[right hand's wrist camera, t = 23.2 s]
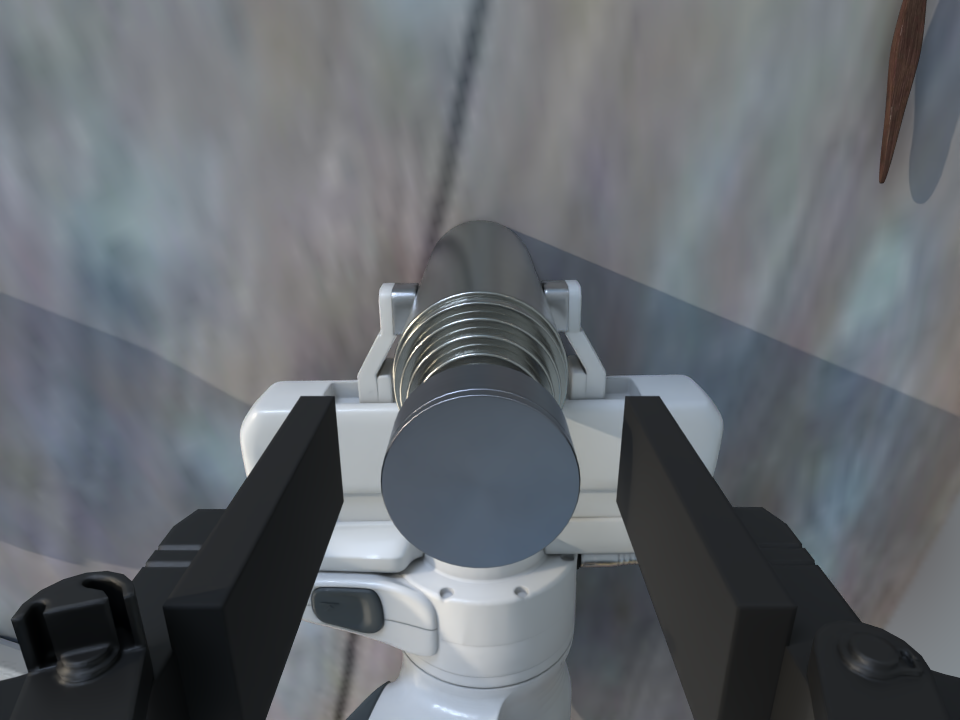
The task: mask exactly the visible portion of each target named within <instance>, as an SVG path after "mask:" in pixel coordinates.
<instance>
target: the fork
mask: <svg viewBox="0 0 960 720" xmlns="http://www.w3.org/2000/svg"><path fill="white" fill-rule="evenodd" d="M926 1H927V0H903V3H902V6H901V10H900V13H899V17H898V21H897V24H896V28H895V32H894V36H893V41H892V46H891V52H890V60H889V70H888V83H887V98H886V110H885V121H884V130H883V139H882V149H881V159H880V172H879V182H880V183H884V181H885V179H886V176H887V173H888V170H889V167H890V164H891V160H892V157H893V153H894V149H895V146H896V142H897V138H898V134H899V130H900V127H901V123H902V119H903V115H904V112H905V108H906V104H907V101H908V97H909V94H910V90H911V87H912V83H913V80H914V77H915V73H916V69H917V65H918V61H919V57H920V53H921V47H922V41H923V33H924V24H925V13H926Z"/></svg>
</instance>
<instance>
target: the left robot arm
mask: <svg viewBox="0 0 960 720" xmlns="http://www.w3.org/2000/svg"><path fill="white" fill-rule="evenodd" d="M541 287H542V289H543V292H544V295H545V297H546V300H547V303H548V305H549V308H550V311H551V313H552V316H553V319H554V321H555V324H556V327H557V329H558V332H564V333H565V335H566V337H567V338H568V340H569V342H570V343H571V345H572V347H573V349H574V350H575V352H576V354H577V355H569V356H568V357H567V360H568V369H569V376H568V386H567V394H566V399H565V403H564V406H563V409H562V412H563V414H564V416H565V419H566V422H567V425H568V428H569V432H570V435H571V439H572V442H573V446H574V449H575V453H576V456H577V460H578V464H579V468H580V478H581V482H580V493H579V498H578V503H577V505H576V508H575V511H574V513H573V515H572V517H571V519H570V521H569V523H568V524H567V526H566V527H565V528H564V530H563V531H562V532H561V534H560V535H559V536H558V537H557V538H556V539H555V540H554V541H553V542H552V543H550V544H549V545H548V546H547V547H545V548H544V549H543V550H541V551H539V552H538V553H536V554H535V555H533V556H531V557H529V558H527V559H525V560H522V561H519V562H516V563H513V564H510V565H506V566H501V567H494V568H467V567H460V566H456V565H451V564H448V563H445V562H442V561H439V560H437V559H435V558H433V557H430V556H428V555H427V554H425V553H423V552H422V551H420V550H418V549H417V548H416V547H415V546H413V545H412V544H411V543H410V542H408V541H407V540H406V539H405V537H404V536H403V535H402V534H401V533H400V532H399V531H398V529H397V528H396V527H395V525H394V524H393V522H392V520H391V518H390V517H389V515H388V513H387V510H386V507H385V505H384V502H383V497H382V493H381V469H382V465H383V461H384V457H385V453H386V450H387V446H388V443H389V439H390V436H391V432H392V429H393V425H394V422H395V419H396V417H397V414H398V412H399V409H398V406H397V403H396V400H395V394H394V386H393V376H392V368H393V359H386V360H385V358H386V356H387V354H388V352H389V350H390V348H391V346H392V344H393V342H394V341H395V339H396V337H397V335H398V334H402V332H403V329H404V326H405V323H406V321H407V318H408V315H409V313H410V310H411V307H412V305H413V302H414V299H415V297H416V294H417V291H418V289H419V284H418V283H383V285H382V286H381V288H380V291H379V311H380V324H381V330H380V332H379V334H378V336H377V338H376V340H375V342H374V344H373V345H372V347H371V349H370V351H369V353H368V355H367V357H366V359H365V361H364V363H363V365H362V367H361V369H360V371H359V373H358V375H357V378H358V380H325V381H280V382H276V383H274V384H272V385H271V386H270V387H269V388H268V389H267V390H266V391H265V392H264V393H263V394H262V396H261V397H260V398H259V399H258V400H257V401H256V402H255V403H254V405H253V406H252V408H251V409H250V410H249V412H248V413H247V415H246V417H245V419H244V420H243V423H242V426H241V430H240V443H241V451H242V456H243V462H244V466H245V471H246V476H247V477H248V475H249V474H250V472H251V471H252V469H253V468H254V466H255V465H256V463H257V462H258V460H259V459H260V457H261V455H262V454H263V452H264V451H265V449H266V448H267V446H268V445H269V443H270V442H271V440H272V439H273V437H274V436H275V434H276V433H277V431H278V430H279V428H280V427H281V425H282V424H283V422H284V421H285V419H286V417H287V416H288V414H289V413H290V411H291V410H292V408H293V407H294V405H295V404H296V402H297V401H298V399H299V398H300V396H335V404H336V416H337V427H338V439H339V450H340V462H341V473H342V485H343V496H344V503H343V505H342V508H341V511H340V514H339V517H338V519H337V522H336V525H335V528H334V531H333V533H332V536H331V539H330V542H329V544H328V547H327V550H326V553H325V556H324V558H323V561H322V564H321V567H320V569H319V572H318V575H317V578H316V581H315V583H314V586H313V589H312V592H311V594H310V597H309V600H308V603H307V606H306V608H305V611H304V614H303V617H302V619H301V620H304V621H307V622H310V623H314V624H318V625H323V626H327V627H331V628H335V629H339V630H343V631H347V632H351V633H354V634H358V635H361V636H365V637H368V638H371V639H374V640H377V641H380V642H383V643H386V644H388V645H391V646H393V647H396V648H398V649H400V650H402V652H403V664H402V668H401V671H400V674H399V677H398V679H397V680H396V681H394V682H392V683H391V682H390V681H388V682H386V683H384V684H383V685H382V686H380V687H379V688H378V689H376V690H375V691H374V692H373V693H372V694H371V695H370V696H369V697H367V698H366V699H365V700H364V701H363V703H362V704H361V705H360V706H359V707H358V708H357V709H356V710H355V711H354V712H353V713H352V714H351V715H350V716H349V717H348V718H347V719H346V720H570V715H571V698H572V686H571V678H570V674H569V670H568V666H567V664H566V661H565V660H566V658H567V656H568V654H569V651H570V648H571V645H572V642H573V636H574V628H575V606H576V583H577V569H579V567H615V566H622V565H628V564H629V565H633V564H635V565H637V564H638V561H637V558H636V556H635V553H634V550H633V547H632V544H631V542H630V539H629V536H628V533H627V531H626V528H625V525H624V522H623V519H622V517H621V514H620V511H619V508H618V505H617V503H616V496H617V485H618V473H619V462H620V450H621V439H622V427H623V416H624V404H625V396H660V398H661V399H662V401H663V402H664V404H665V405H666V407H667V408H668V410H669V411H670V413H671V414H672V416H673V417H674V419H675V421H676V422H677V424H678V425H679V427H680V428H681V430H682V431H683V433H684V434H685V436H686V437H687V439H688V440H689V442H690V443H691V445H692V446H693V448H694V449H695V451H696V452H697V454H698V456H699V457H700V459H701V460H702V462H703V463H704V465H705V466H706V468H707V469H708V471H709V472H710V474H711V475H712V477H713V476H714V472H715V468H716V464H717V460H718V456H719V451H720V446H721V441H722V435H723V419H722V416H721V414H720V412H719V410H718V408H717V407H716V405H715V404H714V402H713V401H712V400H711V398H710V397H709V396H708V395H707V393H706V392H705V391H704V390H703V389H702V388H701V387H700V386H699V385H698V384H697V383H696V382H695V381H694V380H692V379H691V378H690V377H688V376H686V375H626V376H606V371H605V369H604V367H603V365H602V363H601V361H600V359H599V357H598V355H597V353H596V351H595V349H594V348H593V346H592V344H591V342H590V341H589V339H588V337H587V335H586V334H585V332H584V330H583V328H582V327H581V302H582V294H581V286H580V284H579V283H578V281H577V280H549V281H542V282H541ZM384 360H385V361H384Z"/></svg>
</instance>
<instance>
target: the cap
mask: <svg viewBox="0 0 960 720" xmlns="http://www.w3.org/2000/svg"><path fill="white" fill-rule="evenodd" d="M580 482H581V478H580V468H579V464H578V460H577V456H576V453H575V449H574V446H573V442H572V439H571V435H570V432H569V428H568V425H567V422H566V419H565V416H564V414H563V412H562V410H561V408H560V406H559V405H558V403H557V401H556V400H555V399H554V398H553V396H552V395H551V394H550V393H549V392H548V391H547V390H546V389H545V388H544V387H543V386H542V385H541V384H539V383H538V382H537V381H535V380H534V379H532V378H531V377H529V376H527V375H525V374H523V373H521V372H519V371H516V370H514V369H511V368H508V367H503V366H499V365H492V364H469V365H462V366H458V367H454V368H450V369H447V370H445V371H442V372H440V373H438V374H436V375H434V376H432V377H431V378H429V379H427V380H426V381H425V382H423V383H422V384H420V385H419V386H418V387H417V388H416V389H415V390H414V391H413V392H412V393H411V394H410V395H409V396H408V398H407V399H406V400H405V402H404V403H403V405H402V407H401V408H400V410H399V412H398V414H397V417H396V419H395V422H394V425H393V429H392V432H391V436H390V439H389V443H388V446H387V450H386V453H385V457H384V461H383V465H382V469H381V493H382V497H383V502H384V505H385V507H386V510H387V513H388V515H389V517H390V518H391V520H392V522H393V524H394V525H395V527H396V528H397V529H398V531H399V532H400V533H401V534H402V535H403V536H404V537H405V539H406V540H407V541H408V542H410V543H411V544H412V545H413V546H415V547H416V548H417V549H418V550H420V551H422V552H423V553H425V554H427V555H428V556H430V557H433V558H435V559H437V560H439V561H442V562H445V563H448V564H451V565H456V566H460V567H467V568H494V567H501V566H506V565H510V564H513V563H516V562H519V561H522V560H525V559H527V558H529V557H531V556H533V555H535V554H536V553H538V552H539V551H541V550H543V549H544V548H545V547H547V546H548V545H549V544H550V543H552V542H553V541H554V540H555V539H556V538H557V537H558V536H559V535H560V534H561V532H562V531H563V530H564V528H565V527H566V526H567V524H568V523H569V521H570V519H571V517H572V515H573V513H574V511H575V508H576V505H577V503H578V498H579V493H580Z"/></svg>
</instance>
